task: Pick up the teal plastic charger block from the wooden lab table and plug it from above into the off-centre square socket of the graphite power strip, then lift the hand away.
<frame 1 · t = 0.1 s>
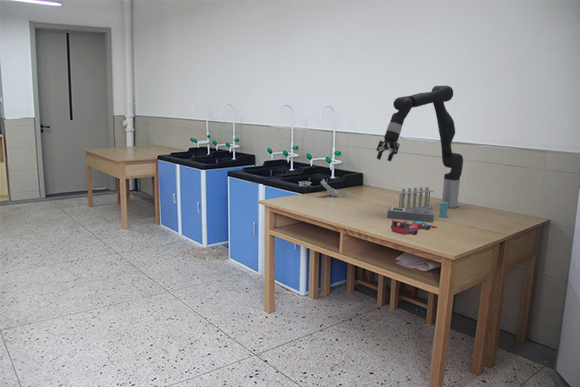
hand: (383, 160, 265), 31 cm above the table, tool tilted 20°, fingers open, 8 cm apart
test tube rack: (413, 209, 289), on the table
power strip: (410, 217, 267), on the table
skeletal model: (334, 196, 325), on the table
charger: (443, 216, 272), on the table
race car: (414, 230, 243), on the table
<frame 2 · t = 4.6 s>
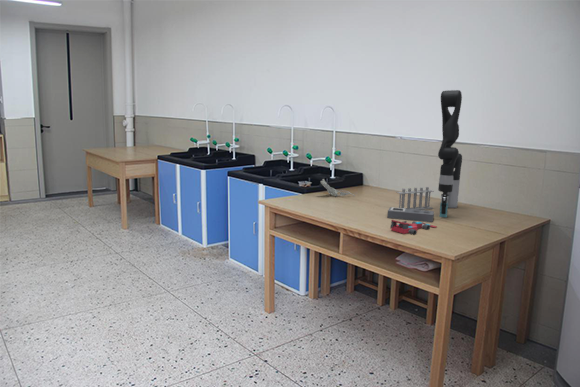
hand: (443, 212, 272), 2 cm above the table, tool pointing down, fingers closed on charger, 4 cm apart
charger: (443, 216, 272), on the table, touching gripper
when the fingers open (5 cm above the table, at t = 10.7 s): charger drops 2 cm, resting on power strip.
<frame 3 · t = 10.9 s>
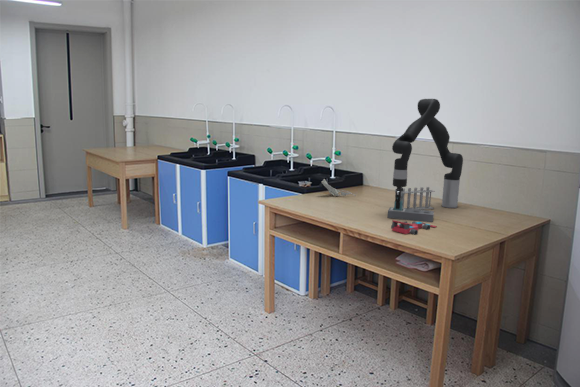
hand: (398, 207, 268), 5 cm above the table, tool pointing down, fingers open, 5 cm apart
charger: (397, 215, 269), point 1 cm above the table, touching power strip
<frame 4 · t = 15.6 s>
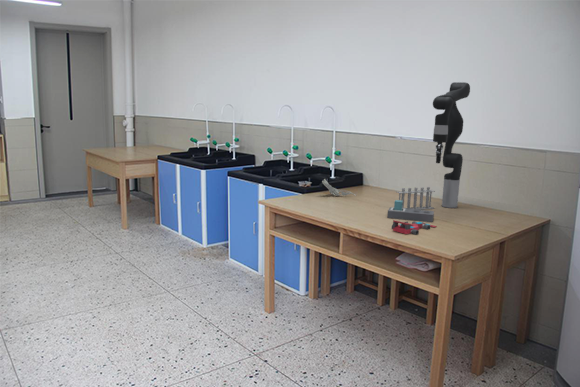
hand: (438, 162, 270), 30 cm above the table, tool pointing down, fingers open, 8 cm apart
at the end: charger 0.1 cm from the target spot on the power strip, point 1.0 cm above the power strip's base; charger tilted 0°; the gripper is holding nothing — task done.
